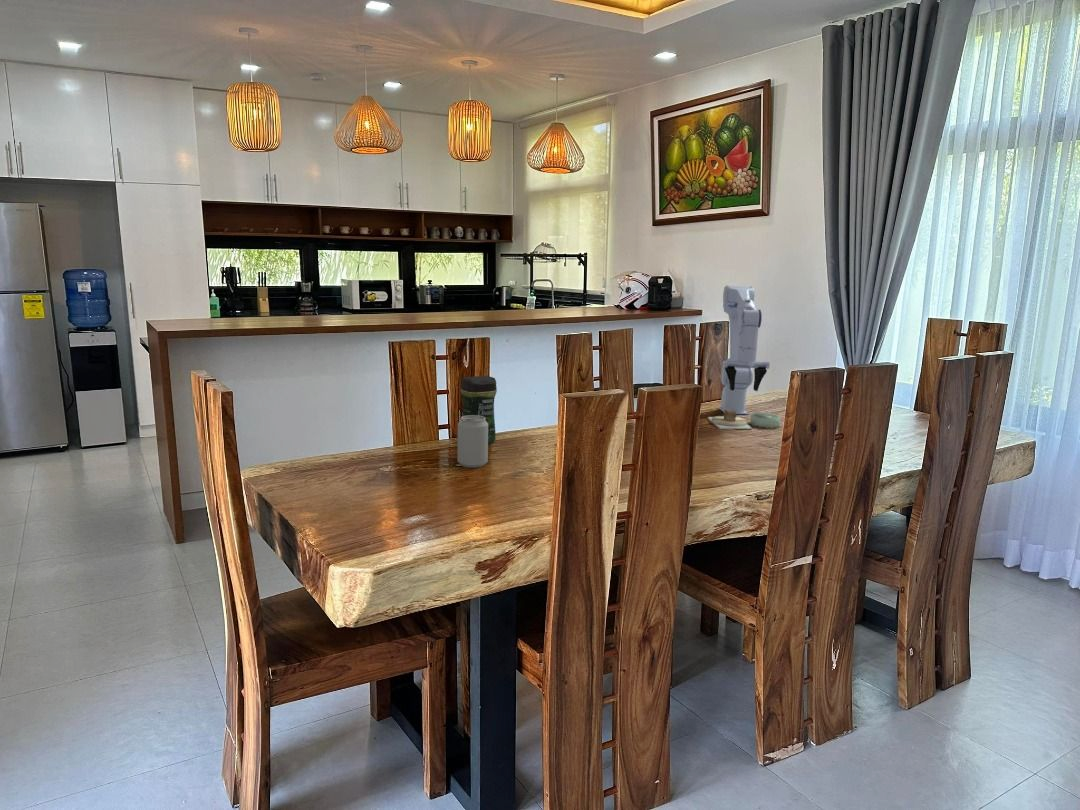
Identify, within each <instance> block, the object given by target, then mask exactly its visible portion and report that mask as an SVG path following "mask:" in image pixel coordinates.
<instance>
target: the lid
mask: <svg viewBox="0 0 1080 810" xmlns="http://www.w3.org/2000/svg"><path fill="white" fill-rule="evenodd" d="M712 417H713V418H712V422H713V423H715V424H719V425H724V426H745V425H748V420H747V419H745V418H741V417H739V416H737V414H736V412H735V411H734V410H732V409H725V410H724V412H723V415H717V416H712ZM712 422H711V423H712ZM713 423H712V424H713Z"/></svg>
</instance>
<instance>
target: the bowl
mask: <svg viewBox="0 0 1080 810" xmlns="http://www.w3.org/2000/svg"><path fill="white" fill-rule="evenodd" d="M749 424H750V425H751V424H752V425H751V426H753V425H754V426H753V427H756V426H759V427H758V428H761V427H778V426H779V427H780V426H781V425H780V424H781V415H778V414H776V413H770V412H752V413H750V422H749ZM779 427H778V428H779Z"/></svg>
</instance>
